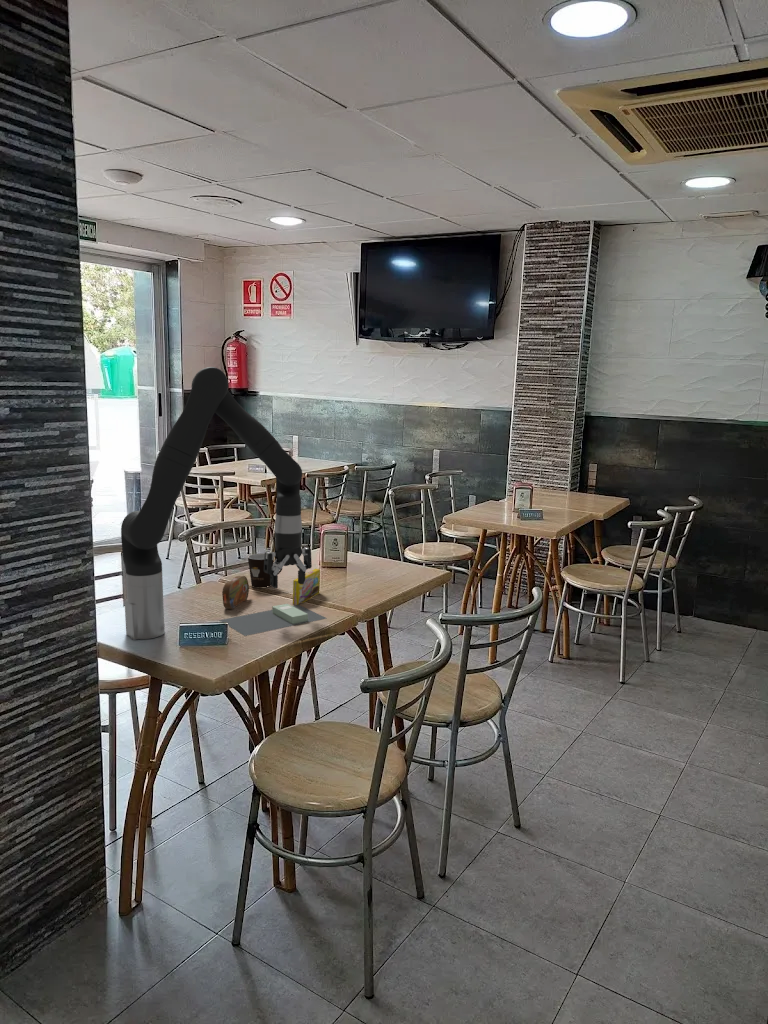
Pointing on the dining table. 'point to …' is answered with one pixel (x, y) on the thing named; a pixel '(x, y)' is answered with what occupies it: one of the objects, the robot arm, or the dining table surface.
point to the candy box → (306, 587)
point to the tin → (235, 592)
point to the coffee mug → (259, 571)
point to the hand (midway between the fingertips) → (287, 585)
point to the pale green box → (290, 613)
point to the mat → (266, 621)
